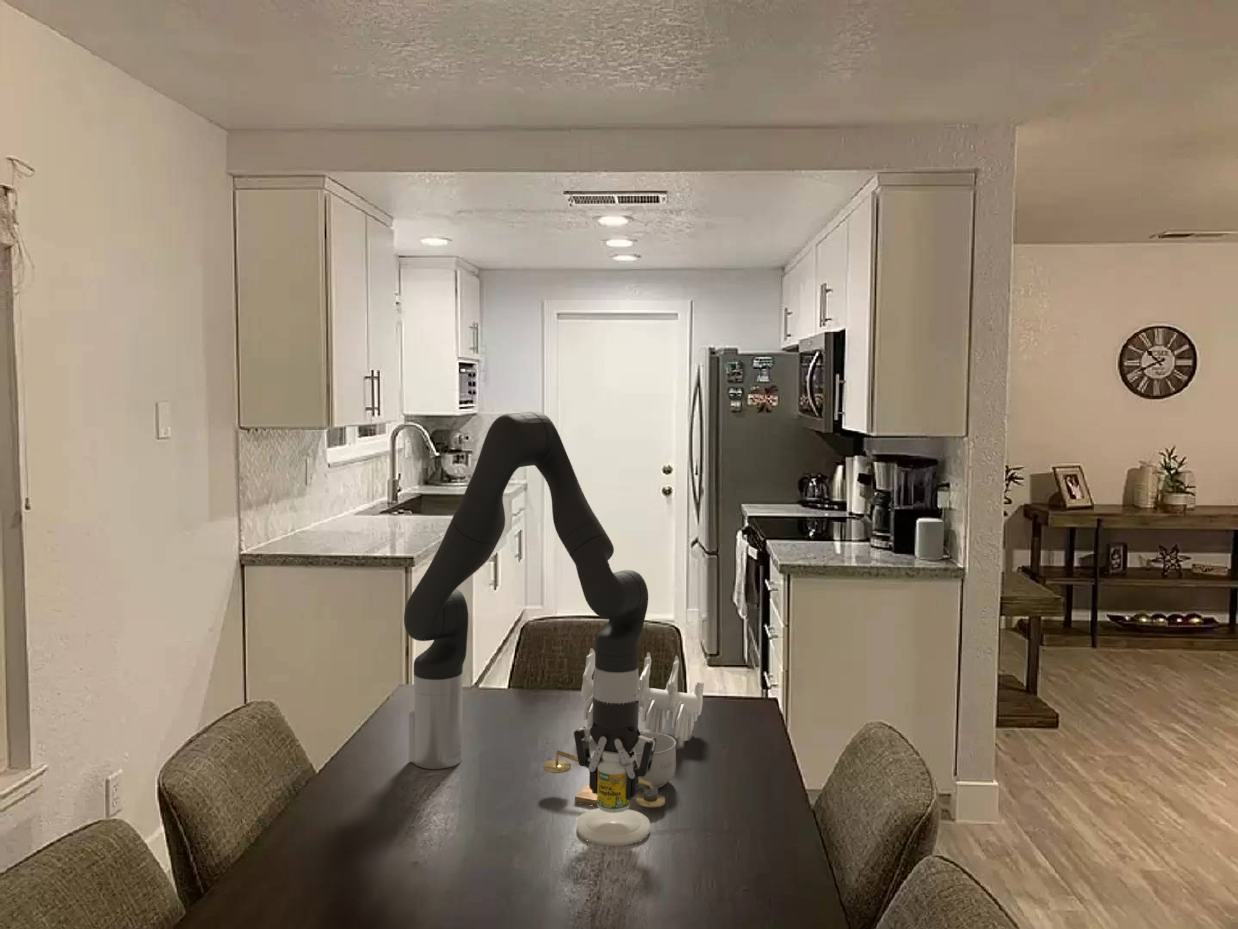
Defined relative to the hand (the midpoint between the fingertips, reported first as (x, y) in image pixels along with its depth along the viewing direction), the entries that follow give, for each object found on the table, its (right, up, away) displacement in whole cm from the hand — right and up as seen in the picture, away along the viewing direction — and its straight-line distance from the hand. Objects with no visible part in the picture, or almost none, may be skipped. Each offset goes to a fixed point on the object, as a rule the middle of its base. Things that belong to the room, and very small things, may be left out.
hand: (613, 794), depth 164 cm
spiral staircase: (+5, -3, +44) cm, 45 cm away
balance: (-2, -5, +12) cm, 13 cm away
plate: (0, -6, +1) cm, 6 cm away
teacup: (+6, -5, +22) cm, 23 cm away
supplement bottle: (0, -2, 0) cm, 2 cm away
